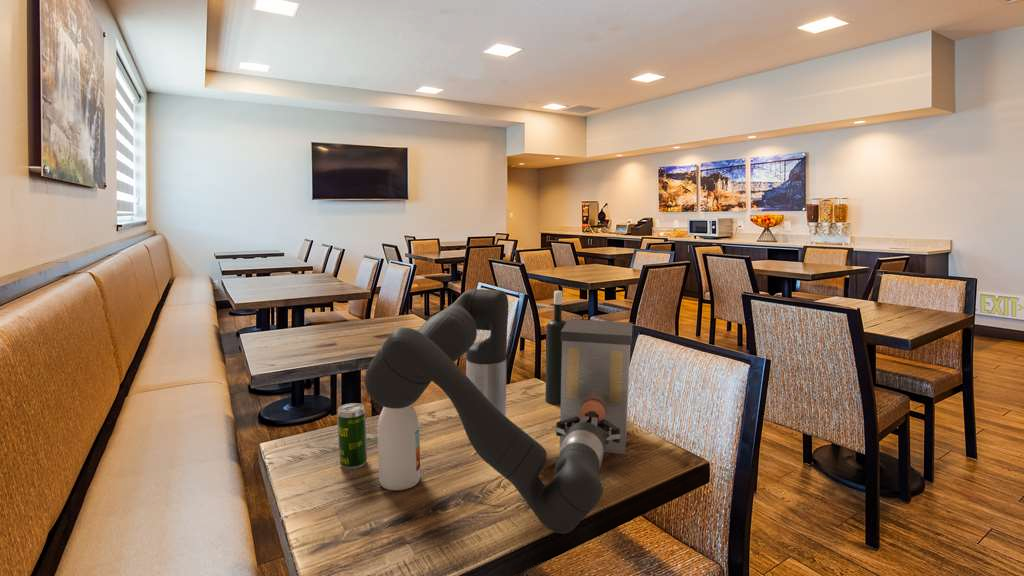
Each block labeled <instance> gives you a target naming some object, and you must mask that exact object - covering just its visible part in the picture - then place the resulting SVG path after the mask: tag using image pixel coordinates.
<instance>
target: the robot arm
mask: <svg viewBox="0 0 1024 576" xmlns="http://www.w3.org/2000/svg"><path fill="white" fill-rule="evenodd" d="M508 319H509V298H508V295H507V293H506V292H505V291H504V290H499V289H483V288H482V289H480V288H479V289H478V288H473V289H468V290H466V291H464V292H463V293H462V294H460V296H459V297H457V299H456V300H454V302H453V303H452V304H450V305H448V306H446V308H445V309H443V310H441V311H439V312H437V313H435V314H434V315H432V316H431V317H430V318H428V319H427V320H426V321H425V322H424V323H423V324H422V326H421V325H420V327H419V328H418V329H417V330H416V329H413V328H410V327H399V328H396V329H394V330H393V331H392V332H391V333H390V334H389V336H388V337H387V338H386V340H385V341H384V342H383V344H382V346H381V347H380V348H379V349H378V351H377V353H376V354H375V355H374V357H373V358H372V359H371V361H370V362H369V364H368V366H367V368H366V371H365V376H364V387H365V390H366V392H367V394H368V396H369V398H370V399H371V400H372V401H373V402H375V403H376V404H377V405H379V406H382V408H383V407H387V408H393V409H399V408H405V407H408V406H410V405H412V406H413V404H414V403H416V402H417V401H418V400H419V398H420V397H421V396H422V394H424V392H425V390H427V388H428V387H429V385H430V384H431V383H434V384H435V385H436V386H437V387H439V388H440V390H441V391H443V392H444V393H445V394H446V396H447V397H448V399H449V400H450V401H451V403H452V405H453V406H454V408H455V410H456V412H457V414H458V416H459V419H460V421H461V424H462V426H463V428H464V431H465V434H466V436H467V438H468V440H469V442H470V444H471V446H472V449H474V451H475V452H476V453H477V455H478V456H479V457H480V458H481V460H483V461H484V462H485V463H487V464H488V465H489V466H490V467H491V468H492V469H494V471H496V472H497V473H498V474H500V475H501V476H502V477H504V478H505V479H506V480H507V481H508V482H509V483H511V484H512V485H513V487H514V488H515V489H516V491H518V492H517V493H519V494H520V495H521V497H522V498H523V499H524V500H525V502H526V504H527V505H528V506H529V507H530V509H531V511H532V512H533V513H534V515H535V516H536V518H537V519H538V521H540V523H541V524H542V525H543V526H544V527H545V528H546V529H548V530H549V531H551V532H553V533H557V534H562V535H565V534H568V533H571V532H573V530H574V529H575V528H576V527H577V526H578V525H579V524H580V523H581V521H582V520H583V519H585V518H586V517H587V515H588V514H589V513H590V512H591V511H593V509H594V508H595V507H596V506H597V505H598V503H599V502H600V500H601V498H602V496H603V493H604V487H603V486H604V485H603V484H602V481H601V479H600V475H599V471H600V468H601V466H602V463H603V459H604V453H605V452H604V450H605V445H607V444H608V443H609V440H612V441H613V442H616V443H619V442H620V429H619V428H618V427H616V426H614V425H613V424H611V423H610V422H608V421H607V420H604V419H601V420H600V421H599V415H598V414H596V412H594V411H593V412H592V411H589V413H585V416H584V417H583V419H580V417H573V418H569V419H566V420H563V421H557V422H556V424H555V428H556V429H555V436H557V437H560V436H562V435H565V436H564V440H563V442H562V443H561V447H559V453H558V458H557V461H556V463H555V468H554V477H553V478H552V479H551V480H550V482H548V483H547V484H545V483H544V482H543V481H542V480H541V477H540V473H541V472H542V470H543V467H544V466H545V463H546V461H547V457H548V454H547V451H546V449H545V447H544V446H543V445H541V444H540V443H539V442H538V441H537V440H535V439H534V438H533V437H532V436H531V435H529V434H528V433H527V432H525V431H524V430H523V429H522V428H520V427H519V426H518V425H517V424H515V423H514V422H513V421H512V420H510V419H509V418H508V417H507V347H508V346H507V345H508V343H507V342H508V321H509V320H508ZM477 331H489V332H490V335H489V337H488V338H486V339H484V340H480V341H477V342H475V341H476V340H477ZM464 354H465V357H466V359H465V360H466V361H465V364H466V365H465V366H466V370H465V371H466V373H465V372H463V370H462V369H461V368H459V366H458V365H457V364H456V363H455V362H456V361H457V360H458V359H460V358H461V357H462V356H464ZM572 423H574V425H572Z"/></svg>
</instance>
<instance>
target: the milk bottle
mask: <svg viewBox="0 0 1024 576" xmlns="http://www.w3.org/2000/svg"><path fill="white" fill-rule="evenodd" d="M419 423H420V422H419V419H418V415H417V412H416V410H415V407H414V405H413V404H412V405H410V406H408V407H405V408H399V409H393V408H387V407H383V406H382V410H381V412H380V414H379V418H378V422H377V455H378V456H377V457H378V458H377V459H378V460H377V461H378V481H379V482H378V483H379V484H380V486H381V487H382V488H383V489H385V490H389V491H397V492H398V491H404V490H408V489H411V488H413V487H415V486H416V485H417V484H418V483H419V481H420V479H421V449H420V448H421V447H420V445H421V444H420V441H421V439H420V426H419V425H420V424H419Z"/></svg>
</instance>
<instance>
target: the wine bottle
mask: <svg viewBox="0 0 1024 576" xmlns="http://www.w3.org/2000/svg"><path fill="white" fill-rule="evenodd" d="M553 304H554V306H553V319H552V320H549V321H548V323H546V343H545V345H546V346H545V347H546V349H545V399H544V400H545V402H546V403H548V404H550V405H561V367H562V341H560V340H561V330H562V329H563V327H564V325H565V324H566V322H567V321H566V320H564V319H562V316H563V315H562V313H563V311H562V310H563V309H562V308H563V291H562V290H554V293H553Z"/></svg>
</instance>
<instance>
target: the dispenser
mask: <svg viewBox="0 0 1024 576" xmlns="http://www.w3.org/2000/svg"><path fill="white" fill-rule="evenodd" d="M632 337H633V322H627V321H624V322H623V321H608V320H594V319H593V320H589V319H573V318H569V319H568V320H567V321H566V324H565V325H564V327H563V329H562V330H561V340H560V341H562V367H561V404H560V414H559V415H560V416H559V417H560V418H559V419H560V421H563V420H566V419H569V418H573V417H580V409H581V406H582V405H583V403H584V402H586V401H588V400H596V401H599V402H600V403H601V404H602V405H603V406H604V408H605V417H604V420H607V421H608V422H610V423H611V424H613V425H614V426H616V427H618V428H619V429H620V442H619V443H616V442H613V441H612V440H609V443H608V444H607V445H605V450H604V453H609V454H610V453H611V454H618V455H626V442H627V433H628V432H627V431H628V430H627V429H628V409H629V387H630V386H629V383H630V360H631V346H632V339H633V338H632ZM560 421H559V422H560ZM572 425H574V423H572ZM564 436H565V435H562V436H559V448H561V443H562V442H563V440H564Z"/></svg>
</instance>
